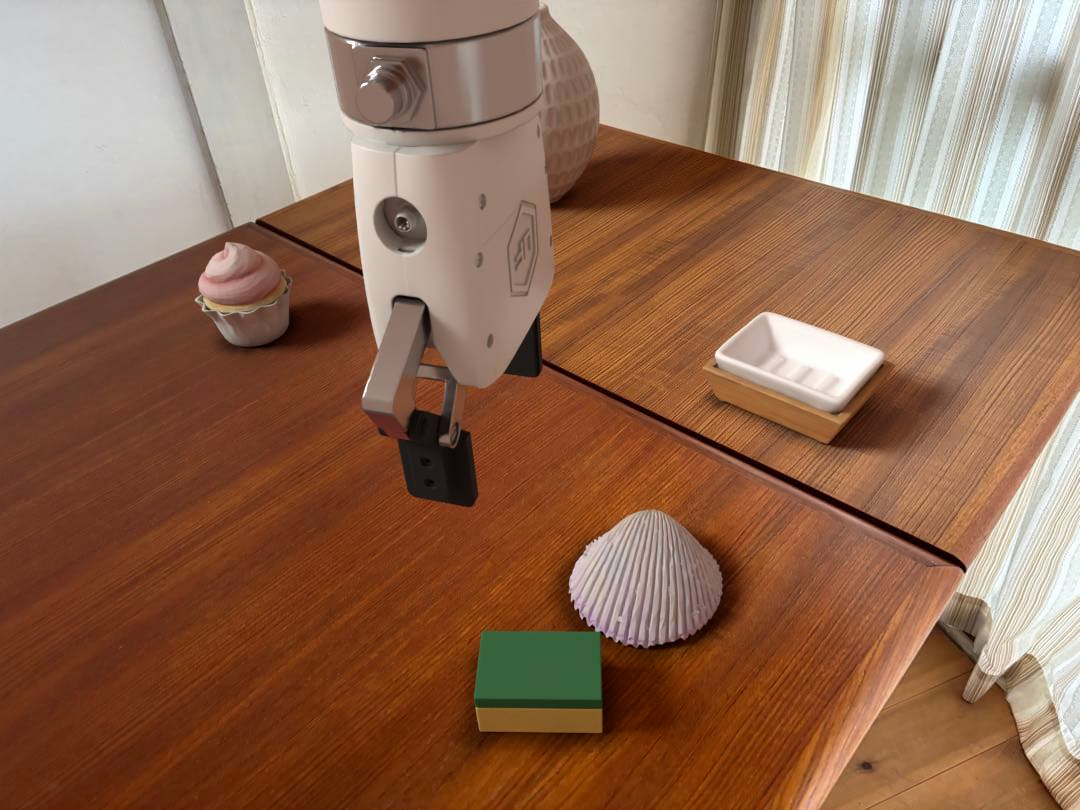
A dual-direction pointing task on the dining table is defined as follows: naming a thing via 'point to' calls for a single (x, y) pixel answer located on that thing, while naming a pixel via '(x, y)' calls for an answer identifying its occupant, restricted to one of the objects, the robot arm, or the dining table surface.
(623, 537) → the seashell
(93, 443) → the dining table surface
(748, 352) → the soap dish
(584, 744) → the dining table surface
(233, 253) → the cupcake
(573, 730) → the scrub sponge
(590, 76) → the vase
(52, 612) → the dining table surface
